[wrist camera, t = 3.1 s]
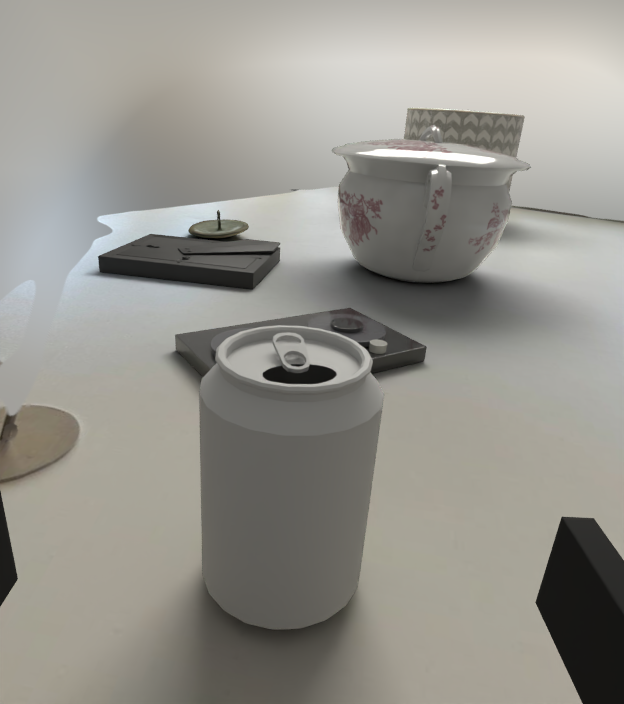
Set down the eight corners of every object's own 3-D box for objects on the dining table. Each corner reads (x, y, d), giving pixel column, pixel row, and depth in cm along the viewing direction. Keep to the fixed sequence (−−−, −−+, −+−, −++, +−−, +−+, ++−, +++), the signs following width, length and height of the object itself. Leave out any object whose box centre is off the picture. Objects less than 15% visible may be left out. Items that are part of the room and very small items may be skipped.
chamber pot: (393, 243, 101) (409, 123, 92) (537, 279, 83) (571, 134, 75) (282, 263, 82) (289, 113, 74) (438, 314, 65) (469, 126, 56)
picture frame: (279, 261, 83) (151, 247, 86) (280, 242, 82) (150, 229, 84) (253, 289, 69) (99, 271, 71) (253, 267, 68) (97, 250, 70)
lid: (257, 245, 98) (260, 217, 98) (228, 240, 89) (232, 209, 89) (207, 239, 102) (210, 212, 101) (175, 233, 93) (178, 204, 92)
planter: (511, 223, 133) (534, 117, 124) (487, 237, 113) (511, 112, 104) (415, 209, 144) (429, 111, 135) (377, 220, 124) (390, 105, 115)
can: (210, 660, 22) (207, 399, 17) (196, 532, 29) (192, 318, 24) (382, 627, 24) (422, 385, 19) (332, 515, 30) (353, 313, 26)
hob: (175, 349, 50) (174, 324, 49) (349, 320, 60) (351, 299, 59) (232, 407, 41) (232, 377, 40) (424, 361, 51) (428, 336, 50)
